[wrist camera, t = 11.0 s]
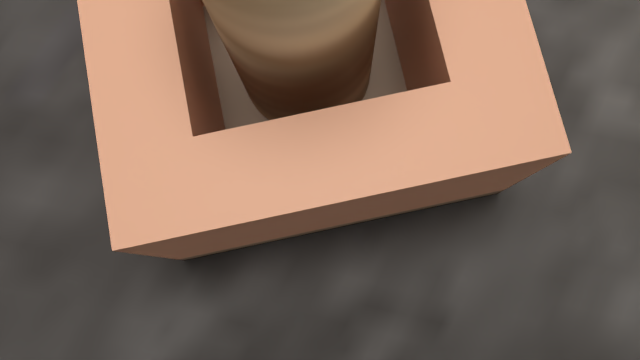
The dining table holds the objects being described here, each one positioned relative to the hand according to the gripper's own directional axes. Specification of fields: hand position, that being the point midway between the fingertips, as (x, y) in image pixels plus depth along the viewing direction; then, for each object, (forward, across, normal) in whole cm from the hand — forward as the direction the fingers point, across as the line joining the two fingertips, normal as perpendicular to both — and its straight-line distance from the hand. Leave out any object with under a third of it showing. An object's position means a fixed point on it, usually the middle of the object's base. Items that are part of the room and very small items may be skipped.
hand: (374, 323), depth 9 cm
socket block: (+11, 0, 0) cm, 11 cm away
